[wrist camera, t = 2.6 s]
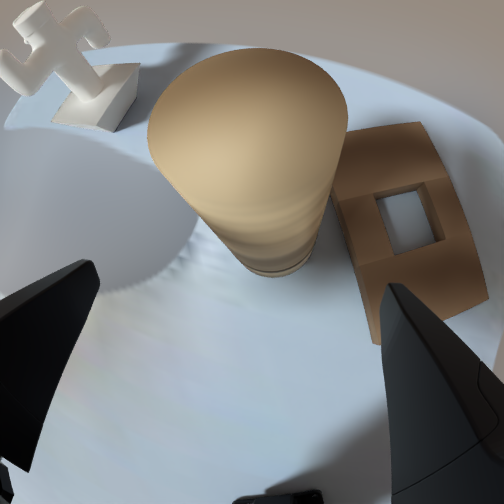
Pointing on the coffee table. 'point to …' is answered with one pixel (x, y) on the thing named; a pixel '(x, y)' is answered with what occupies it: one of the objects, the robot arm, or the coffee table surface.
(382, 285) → the walnut board
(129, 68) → the figurine
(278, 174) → the oak peg
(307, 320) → the coffee table surface
